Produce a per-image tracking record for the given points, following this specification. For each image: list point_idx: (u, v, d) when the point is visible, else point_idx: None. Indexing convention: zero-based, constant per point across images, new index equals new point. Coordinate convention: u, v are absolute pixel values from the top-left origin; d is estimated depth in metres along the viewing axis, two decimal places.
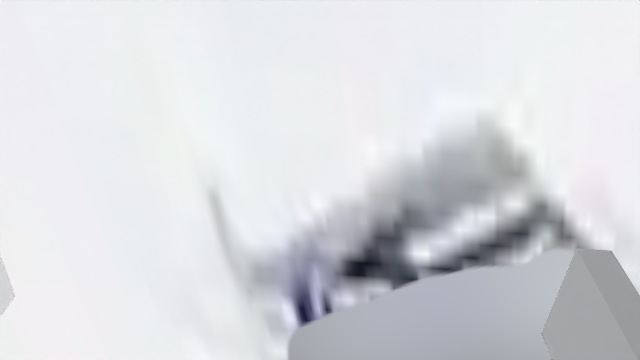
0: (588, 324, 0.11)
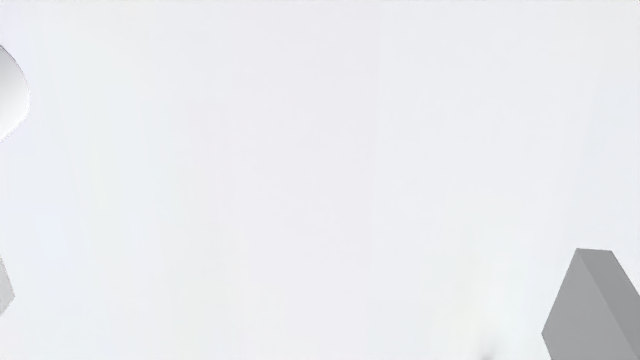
0: (588, 324, 0.11)
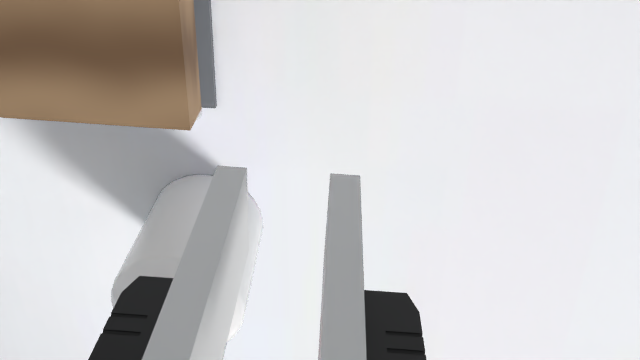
0: (326, 233, 0.13)
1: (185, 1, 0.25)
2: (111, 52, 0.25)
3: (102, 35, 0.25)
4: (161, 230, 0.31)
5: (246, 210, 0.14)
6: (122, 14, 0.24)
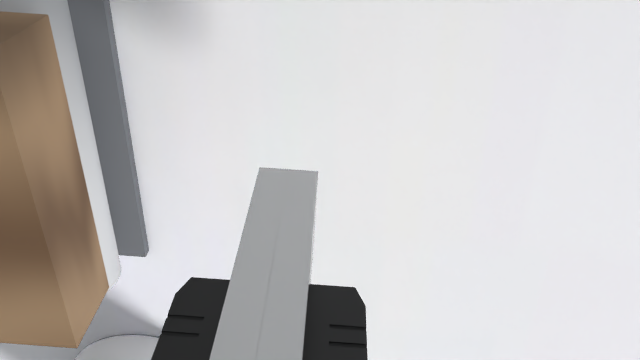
0: None
1: (47, 148, 0.13)
2: None
3: None
4: None
5: None
6: None
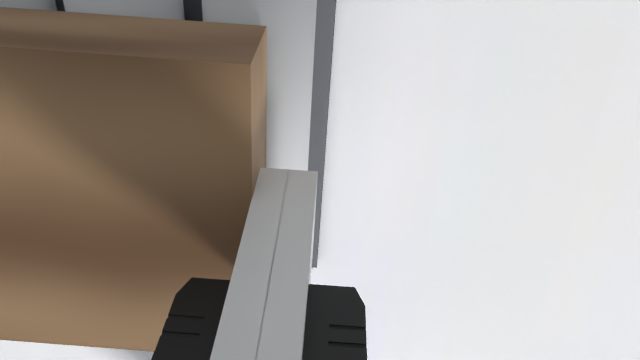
0: None
1: (258, 160, 0.13)
2: (120, 249, 0.14)
3: (103, 223, 0.13)
4: None
5: None
6: (141, 193, 0.13)
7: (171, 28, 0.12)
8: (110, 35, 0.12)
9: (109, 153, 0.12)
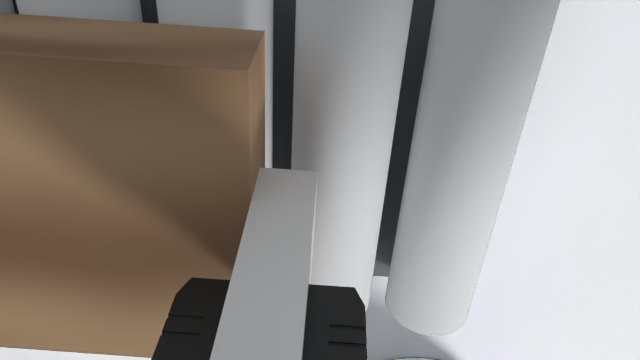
0: None
1: (257, 166, 0.13)
2: (118, 255, 0.13)
3: (101, 230, 0.13)
4: None
5: None
6: (139, 200, 0.12)
7: (169, 33, 0.12)
8: (107, 41, 0.12)
9: (105, 159, 0.12)
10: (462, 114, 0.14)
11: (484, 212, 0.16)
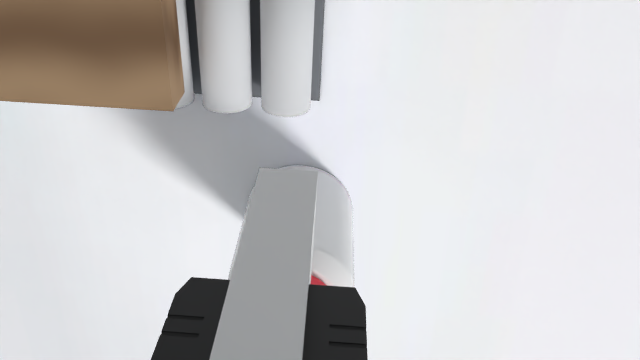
0: None
1: None
2: (97, 36, 0.27)
3: (89, 20, 0.26)
4: None
5: None
6: (107, 1, 0.26)
7: None
8: None
9: None
10: None
11: (297, 29, 0.29)
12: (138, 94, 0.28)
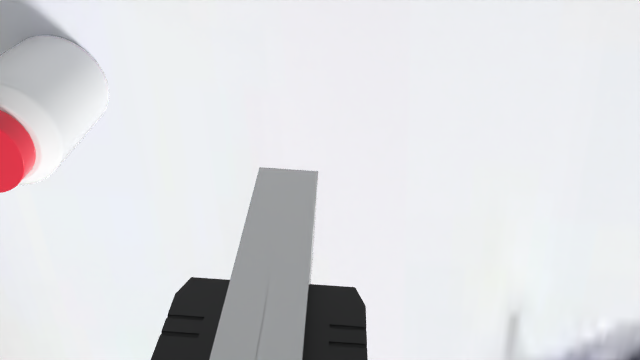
0: None
1: None
2: None
3: None
4: None
5: None
6: None
7: None
8: None
9: None
10: None
11: None
12: None
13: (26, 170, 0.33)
